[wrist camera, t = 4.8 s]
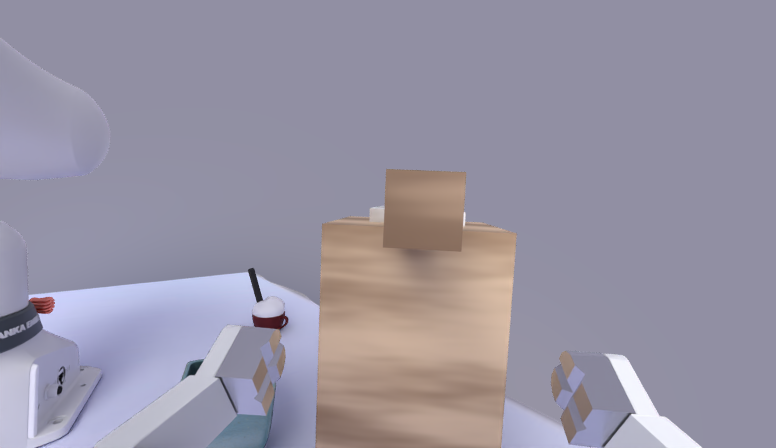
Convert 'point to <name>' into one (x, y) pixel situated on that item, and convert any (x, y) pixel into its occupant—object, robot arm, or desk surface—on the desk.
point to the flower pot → (239, 423)
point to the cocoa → (266, 308)
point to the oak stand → (412, 339)
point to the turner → (422, 210)
